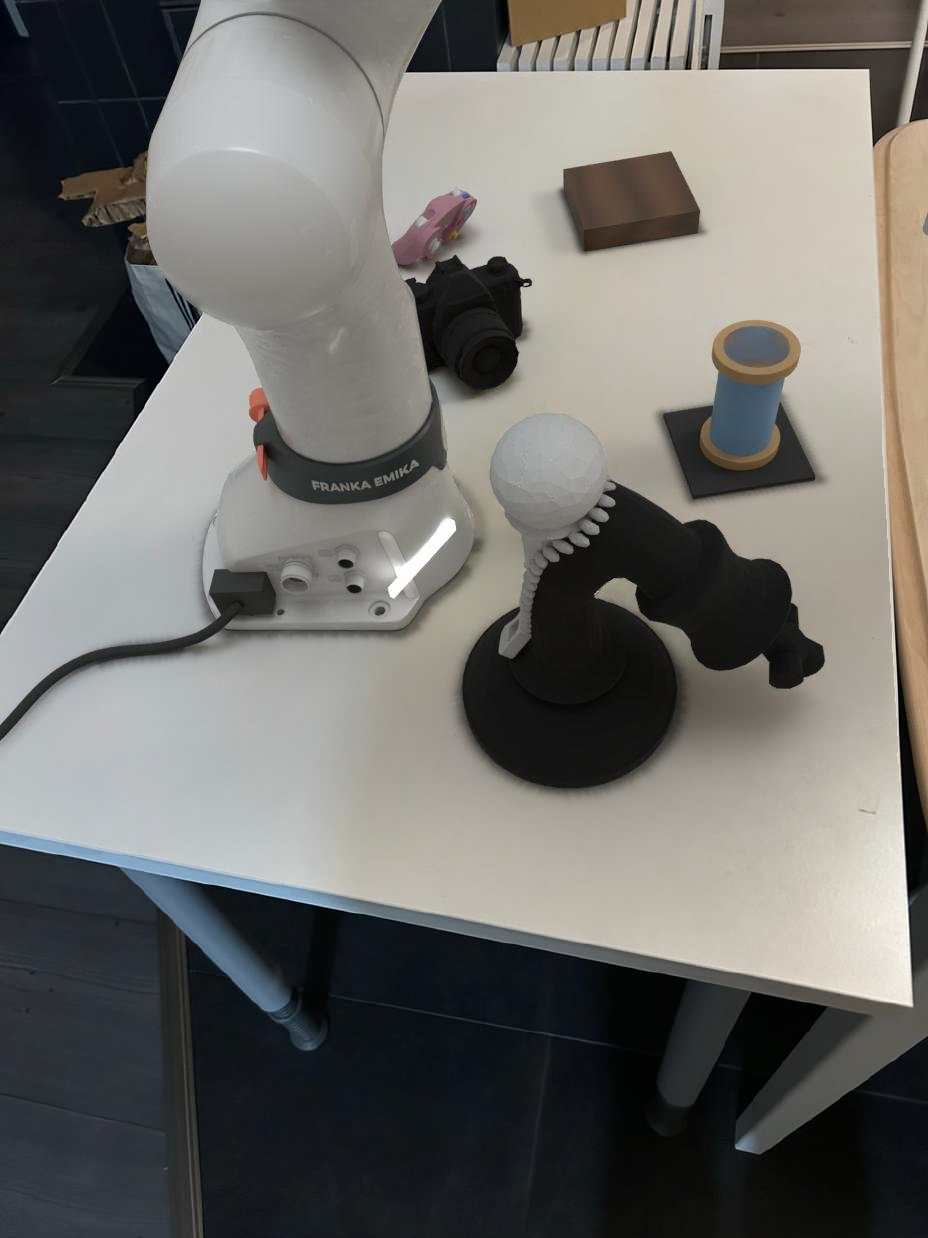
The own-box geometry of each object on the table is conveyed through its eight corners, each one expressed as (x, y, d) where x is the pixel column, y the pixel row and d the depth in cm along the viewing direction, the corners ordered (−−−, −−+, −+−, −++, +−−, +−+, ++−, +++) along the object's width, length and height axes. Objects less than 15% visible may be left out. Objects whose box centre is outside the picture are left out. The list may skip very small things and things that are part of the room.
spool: (711, 476, 75) (726, 380, 67) (691, 423, 79) (703, 326, 71) (788, 464, 75) (813, 366, 67) (764, 411, 79) (785, 313, 71)
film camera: (411, 422, 84) (394, 341, 76) (376, 362, 89) (357, 280, 82) (561, 367, 86) (559, 283, 78) (518, 311, 91) (512, 227, 84)
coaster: (692, 499, 75) (693, 495, 74) (663, 416, 81) (663, 412, 80) (815, 479, 75) (815, 476, 74) (776, 398, 80) (777, 394, 80)
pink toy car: (416, 286, 98) (431, 241, 92) (384, 258, 98) (396, 211, 92) (471, 238, 102) (489, 191, 96) (440, 211, 102) (456, 163, 96)
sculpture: (478, 599, 71) (436, 331, 51) (796, 614, 67) (888, 332, 47) (449, 778, 63) (384, 543, 42) (812, 809, 59) (932, 565, 38)
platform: (583, 251, 96) (583, 229, 94) (563, 190, 103) (563, 168, 101) (698, 232, 96) (700, 209, 94) (669, 172, 103) (671, 150, 101)
